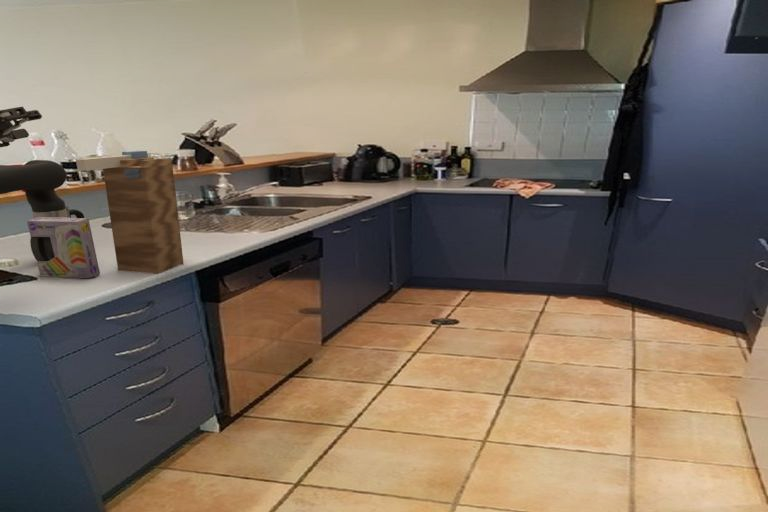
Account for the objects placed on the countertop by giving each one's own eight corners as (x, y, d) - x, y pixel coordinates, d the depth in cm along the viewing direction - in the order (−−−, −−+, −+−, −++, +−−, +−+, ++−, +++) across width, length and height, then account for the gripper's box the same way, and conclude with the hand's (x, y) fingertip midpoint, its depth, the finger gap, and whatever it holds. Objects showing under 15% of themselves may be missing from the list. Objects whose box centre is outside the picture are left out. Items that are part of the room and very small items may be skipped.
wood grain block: (156, 274, 153) (141, 160, 144) (116, 270, 158) (99, 160, 149) (183, 263, 165) (171, 157, 156) (145, 260, 169) (132, 157, 160)
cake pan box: (34, 276, 153) (23, 218, 148) (49, 271, 157) (38, 215, 153) (88, 280, 148) (78, 221, 144) (101, 275, 153) (92, 217, 149)
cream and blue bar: (87, 170, 138) (85, 155, 137) (76, 170, 139) (73, 155, 138) (150, 163, 160) (149, 150, 159) (140, 163, 161) (138, 150, 160)
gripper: (-35, 103, 112) (34, 94, 126) (-54, 138, 120) (13, 126, 133) (-12, 132, 113) (53, 120, 127) (-33, 164, 121) (31, 150, 134)
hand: (33, 123), depth 130 cm, fingers open, 8 cm apart
